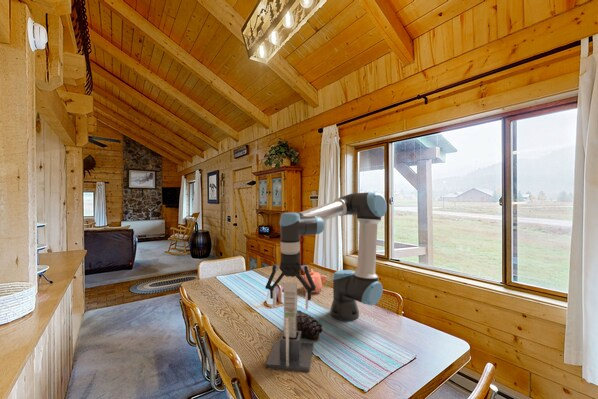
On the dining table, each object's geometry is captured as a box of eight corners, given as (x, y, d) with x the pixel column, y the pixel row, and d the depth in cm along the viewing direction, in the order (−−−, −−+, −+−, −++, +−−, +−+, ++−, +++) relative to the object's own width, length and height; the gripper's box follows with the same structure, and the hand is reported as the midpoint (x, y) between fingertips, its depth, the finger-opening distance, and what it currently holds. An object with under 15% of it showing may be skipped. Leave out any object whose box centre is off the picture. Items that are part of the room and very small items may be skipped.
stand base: (313, 347, 112) (312, 301, 112) (309, 371, 96) (309, 318, 96) (275, 344, 114) (275, 299, 114) (265, 368, 98) (265, 316, 98)
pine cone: (319, 344, 114) (319, 320, 114) (282, 335, 122) (282, 313, 122) (327, 333, 123) (327, 311, 123) (293, 325, 131) (293, 304, 131)
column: (297, 332, 107) (297, 281, 107) (295, 338, 102) (295, 286, 101) (286, 331, 107) (285, 281, 107) (283, 338, 102) (283, 285, 102)
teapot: (313, 297, 167) (313, 276, 167) (295, 291, 178) (295, 271, 178) (329, 290, 179) (329, 271, 179) (311, 285, 190) (311, 267, 190)
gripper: (322, 251, 107) (322, 304, 107) (262, 249, 110) (262, 302, 110) (321, 255, 99) (321, 313, 99) (257, 253, 102) (257, 309, 103)
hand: (290, 307), depth 105 cm, fingers open, 12 cm apart
